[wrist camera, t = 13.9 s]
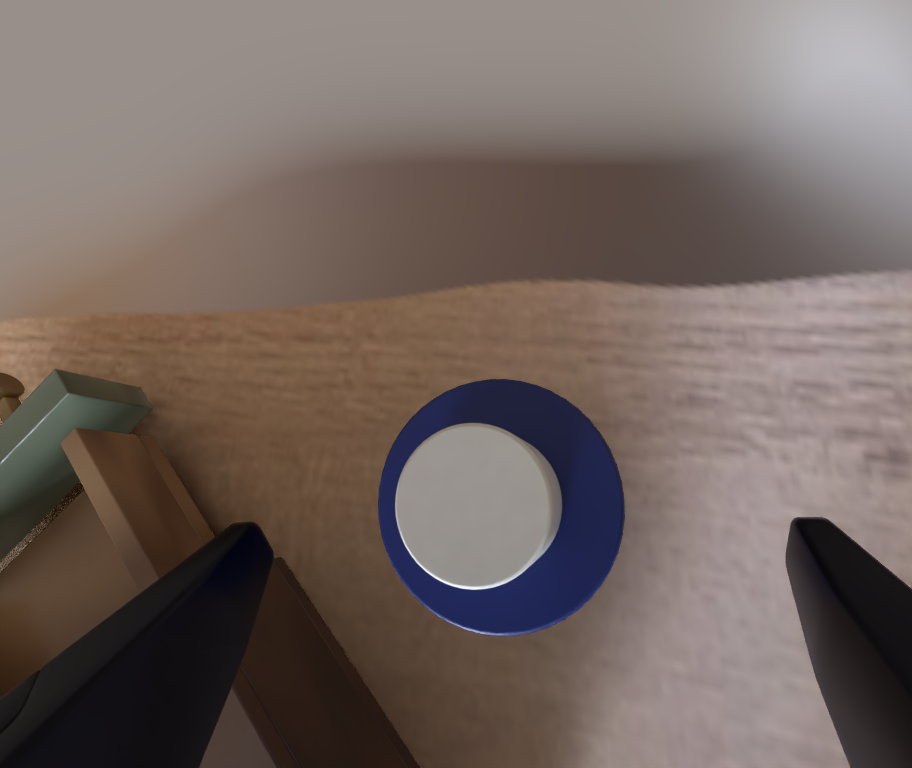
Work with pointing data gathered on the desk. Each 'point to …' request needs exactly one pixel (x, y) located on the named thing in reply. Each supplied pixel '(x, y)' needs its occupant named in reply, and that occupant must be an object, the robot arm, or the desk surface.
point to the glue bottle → (501, 507)
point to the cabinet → (300, 696)
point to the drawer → (81, 514)
